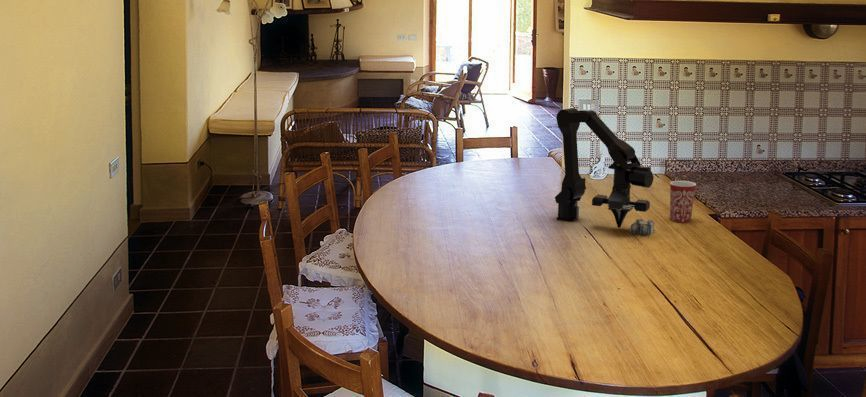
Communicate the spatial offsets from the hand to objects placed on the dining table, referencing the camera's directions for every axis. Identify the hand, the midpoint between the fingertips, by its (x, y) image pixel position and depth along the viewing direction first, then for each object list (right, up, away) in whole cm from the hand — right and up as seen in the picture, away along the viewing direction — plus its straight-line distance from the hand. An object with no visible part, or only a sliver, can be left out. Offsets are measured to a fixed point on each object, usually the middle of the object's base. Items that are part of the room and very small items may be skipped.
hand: (619, 227), depth 302 cm
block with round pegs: (+7, -2, -3) cm, 8 cm away
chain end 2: (+9, -2, -4) cm, 10 cm away
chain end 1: (+6, -1, -3) cm, 6 cm away
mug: (+25, +2, +14) cm, 28 cm away
